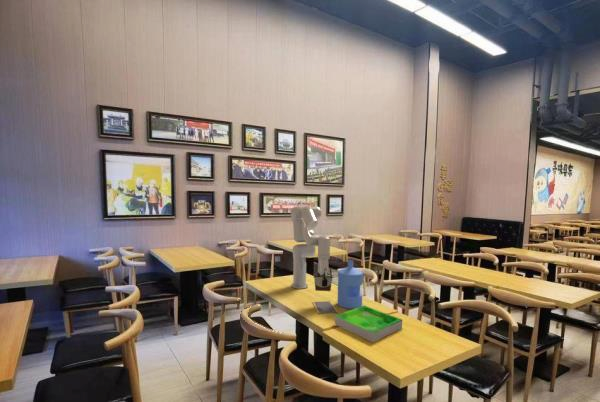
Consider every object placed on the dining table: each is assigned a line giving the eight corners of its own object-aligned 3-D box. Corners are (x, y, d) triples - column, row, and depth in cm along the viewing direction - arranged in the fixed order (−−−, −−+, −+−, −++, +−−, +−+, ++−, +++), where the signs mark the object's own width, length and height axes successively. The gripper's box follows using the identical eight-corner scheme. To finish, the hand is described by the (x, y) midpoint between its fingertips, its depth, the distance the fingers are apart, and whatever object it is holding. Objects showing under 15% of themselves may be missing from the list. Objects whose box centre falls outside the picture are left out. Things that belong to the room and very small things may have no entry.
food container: (332, 288, 194) (333, 272, 194) (332, 291, 188) (333, 275, 188) (313, 287, 195) (313, 272, 195) (313, 290, 189) (313, 274, 189)
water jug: (332, 303, 193) (333, 260, 192) (348, 298, 204) (349, 256, 203) (351, 311, 181) (352, 264, 181) (367, 305, 192) (368, 261, 191)
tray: (334, 325, 163) (334, 315, 163) (363, 313, 180) (364, 305, 179) (373, 343, 144) (373, 333, 144) (402, 328, 160) (402, 319, 160)
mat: (312, 302, 195) (312, 301, 195) (330, 301, 197) (330, 301, 197) (318, 313, 177) (318, 312, 177) (338, 312, 179) (338, 311, 179)
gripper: (315, 253, 199) (314, 280, 199) (320, 259, 182) (320, 289, 182) (326, 253, 200) (325, 280, 201) (333, 259, 183) (332, 288, 183)
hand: (323, 284), depth 191 cm, fingers closed on food container, 6 cm apart
